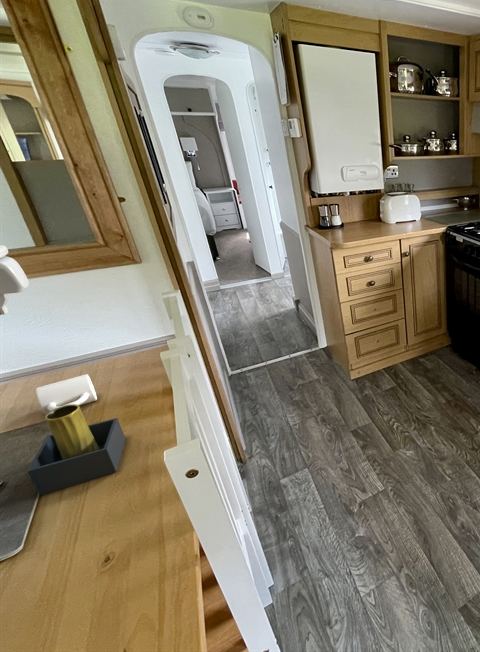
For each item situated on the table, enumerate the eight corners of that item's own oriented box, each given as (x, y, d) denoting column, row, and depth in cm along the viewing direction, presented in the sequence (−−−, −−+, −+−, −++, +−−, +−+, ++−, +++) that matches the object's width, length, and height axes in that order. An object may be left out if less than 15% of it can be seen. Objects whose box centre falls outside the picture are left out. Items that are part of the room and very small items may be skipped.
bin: (39, 495, 78) (26, 471, 76) (58, 457, 88) (47, 435, 85) (116, 471, 85) (106, 449, 82) (125, 439, 94) (117, 417, 92)
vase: (60, 476, 82) (34, 423, 77) (74, 456, 87) (50, 406, 82) (96, 468, 85) (73, 416, 79) (107, 449, 90) (87, 400, 85)
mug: (47, 407, 105) (36, 383, 102) (96, 392, 111) (86, 369, 108) (47, 428, 97) (34, 403, 94) (99, 411, 103) (89, 387, 101)
